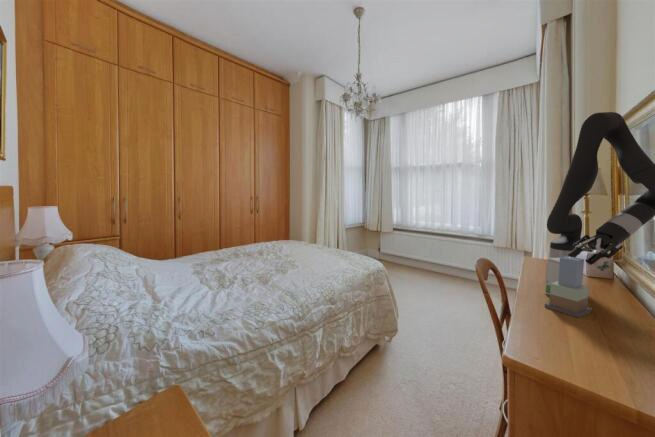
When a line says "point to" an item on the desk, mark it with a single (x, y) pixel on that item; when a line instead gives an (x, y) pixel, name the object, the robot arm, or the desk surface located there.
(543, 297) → the desk surface
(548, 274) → the skincare box
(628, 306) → the desk surface
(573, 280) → the slate column brick
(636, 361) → the desk surface
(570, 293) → the tower base
